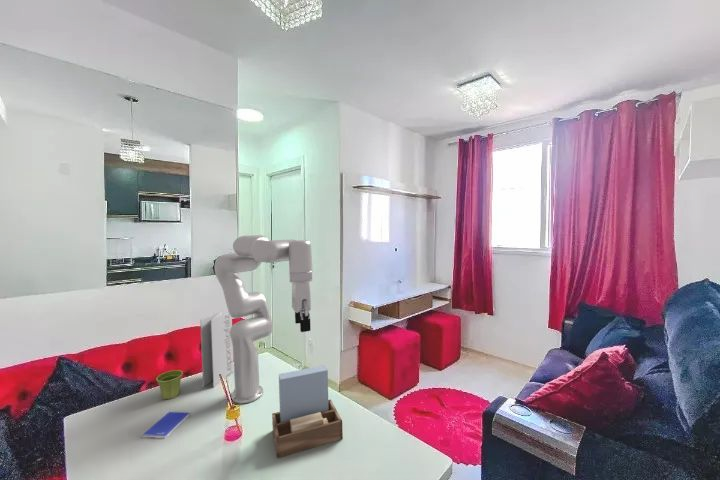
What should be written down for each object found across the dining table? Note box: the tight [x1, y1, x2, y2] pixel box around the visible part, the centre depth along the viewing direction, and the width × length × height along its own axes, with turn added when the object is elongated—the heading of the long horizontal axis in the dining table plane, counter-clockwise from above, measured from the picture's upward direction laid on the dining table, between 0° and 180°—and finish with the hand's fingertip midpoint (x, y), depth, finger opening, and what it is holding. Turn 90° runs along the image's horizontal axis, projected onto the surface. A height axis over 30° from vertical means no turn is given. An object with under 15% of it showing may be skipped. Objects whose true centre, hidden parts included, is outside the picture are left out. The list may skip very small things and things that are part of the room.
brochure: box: [199, 310, 234, 388], centre depth 138 cm, size 14×6×30 cm, turn 168°
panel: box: [278, 364, 329, 423], centre depth 102 cm, size 4×16×20 cm, turn 112°
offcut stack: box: [290, 412, 328, 433], centre depth 97 cm, size 4×14×8 cm, turn 112°
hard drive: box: [141, 411, 190, 439], centre depth 106 cm, size 2×8×12 cm
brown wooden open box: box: [271, 399, 344, 459], centre depth 100 cm, size 13×21×6 cm, turn 112°
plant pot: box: [155, 369, 184, 400], centre depth 125 cm, size 9×9×9 cm
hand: (302, 326), depth 101 cm, fingers open, 9 cm apart
